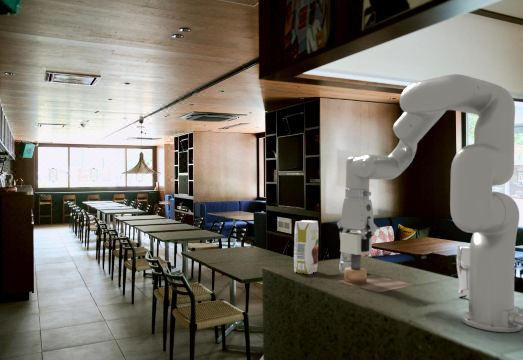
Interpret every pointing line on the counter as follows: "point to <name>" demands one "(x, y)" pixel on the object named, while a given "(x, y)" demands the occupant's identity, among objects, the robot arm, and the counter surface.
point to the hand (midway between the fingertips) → (355, 249)
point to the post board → (368, 278)
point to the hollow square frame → (353, 243)
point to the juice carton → (306, 246)
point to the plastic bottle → (345, 259)
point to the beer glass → (463, 270)
